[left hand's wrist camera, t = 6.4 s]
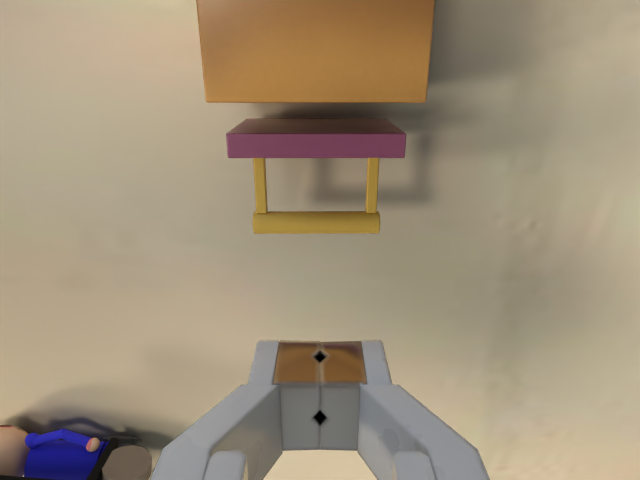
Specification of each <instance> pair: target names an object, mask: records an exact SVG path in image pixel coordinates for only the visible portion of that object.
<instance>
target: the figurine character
mask: <svg viewBox="0 0 640 480" xmlns="http://www.w3.org/2000/svg"><path fill="white" fill-rule="evenodd" d="M58 439H64V440H67V441H64V440H58ZM102 440H104V441H106V442H107V443H106V442H100V441H99V439H97V438H91V437H88V436H85V435H82V434H79V433H76V432H73V431H70V430H67V429H61V430H57V431H53V432H49V433H45V434H41V435H39V434H37V433H30V434H28V433H27V432H26V431H24V430H23V429H21V428H19V427H17V426H13V425H0V480H148V479H149V477H150V474H151V465H152V457H151V454H150V453H149V451H147V450H146V449H145V448H143V447H140V446H135V445H128V446H122V447H119V448H118V444H119V443H138V442H140V441H142V440H141V439H139V438H137V437H128V436H107V437H105V438H103V439H102ZM23 475H24V477H22V476H23Z"/></svg>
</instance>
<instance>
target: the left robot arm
mask: <svg viewBox="0 0 640 480" xmlns="http://www.w3.org/2000/svg"><path fill="white" fill-rule="evenodd" d="M286 450H354V451H358V454H359V455H360V456H361V458H362V459H363V460H364V462H365V463H366V465H367V466H368V467H369V469H370V470H371V471H372V473H373V474H374V475H375V477H376V478H377V480H490V478H489V476H488V474H487V471H486V469H485V466H484V464H483V462H482V459H481V457H480V454H479V452H478V449H476V448H475V447H474V446H473V445H472V444H470V443H469V442H468V441H467V440H465V439H464V438H463V437H462V436H461V435H459V434H458V433H457V432H456V431H454V430H453V429H452V428H451V427H450V426H448V425H447V424H446V423H445V422H443V421H442V420H441V419H440V418H439V417H437V416H436V415H435V414H434V413H433V412H431V411H430V410H429V409H428V408H426V407H425V406H424V405H423V404H422V403H420V402H419V401H418V400H417V399H415V398H414V397H413V396H412V395H411V394H409V393H408V392H407V391H406V390H404V389H403V388H402V387H401V386H400V385H392V380H391V376H390V372H389V367H388V363H387V359H386V355H385V350H384V346H383V342H382V341H381V340H368V341H341V342H320V341H283V340H280V341H278V340H259V342H258V343H257V346H256V350H255V354H254V359H253V363H252V367H251V372H250V376H249V380H248V384H247V385H240V386H239V387H238V388H237V389H236V390H234V391H233V392H232V393H231V394H229V395H228V396H227V397H226V398H224V399H223V400H222V401H221V402H220V403H218V404H217V405H216V406H215V407H213V408H212V409H211V410H210V411H209V412H207V413H206V414H205V415H204V416H202V417H201V418H200V419H199V420H198V421H196V422H195V423H194V424H193V425H191V426H190V427H189V428H188V429H187V430H185V431H184V432H183V433H182V434H180V435H179V436H178V437H177V438H176V439H174V440H173V441H172V442H171V443H169V444H168V445H167V446H166V447H164V448H163V450H162V452H161V455H160V457H159V460H158V462H157V464H156V467H155V469H154V471H153V474H152V476H151V479H150V480H263V479H264V477H265V476H266V474H267V473H268V472H269V470H270V469H271V468H272V466H273V465H274V464H275V462H276V461H277V459H278V458H279V457H280V455H281V454H282V451H286Z"/></svg>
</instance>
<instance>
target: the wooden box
mask: <svg viewBox="0 0 640 480" xmlns="http://www.w3.org/2000/svg"><path fill="white" fill-rule="evenodd" d="M196 3H197V13H198V24H199V34H200V45H201V55H202V66H203V77H204V87H205V98H206V102H208V103H424V102H426V98H427V87H428V76H429V64H430V53H431V42H432V31H433V20H434V8H435V0H196Z"/></svg>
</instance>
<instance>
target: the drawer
mask: <svg viewBox="0 0 640 480" xmlns="http://www.w3.org/2000/svg"><path fill="white" fill-rule="evenodd" d="M226 139H227V152H228V158H253V161H254V179H255V196H256V212H254V214H253V231H254V233H255V234H265V233H379V230H380V214H379V212H378V211H376V210H377V192H378V173H379V158H404V157H405V144H406V133H404V132H403V131H402V130H400V129H399V128H398V127H396V126H395V125H394V124H392V123H391V122H390V121H388V120H387V119H246V120H244V121H243V122H242V123H240V124H239V125H238V126H236V127H235V128H234V129H232V130H231V131H230V132H228V133H227V134H226ZM265 158H368V163H367V186H366V211H318V212H267V189H266V168H265Z"/></svg>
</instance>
